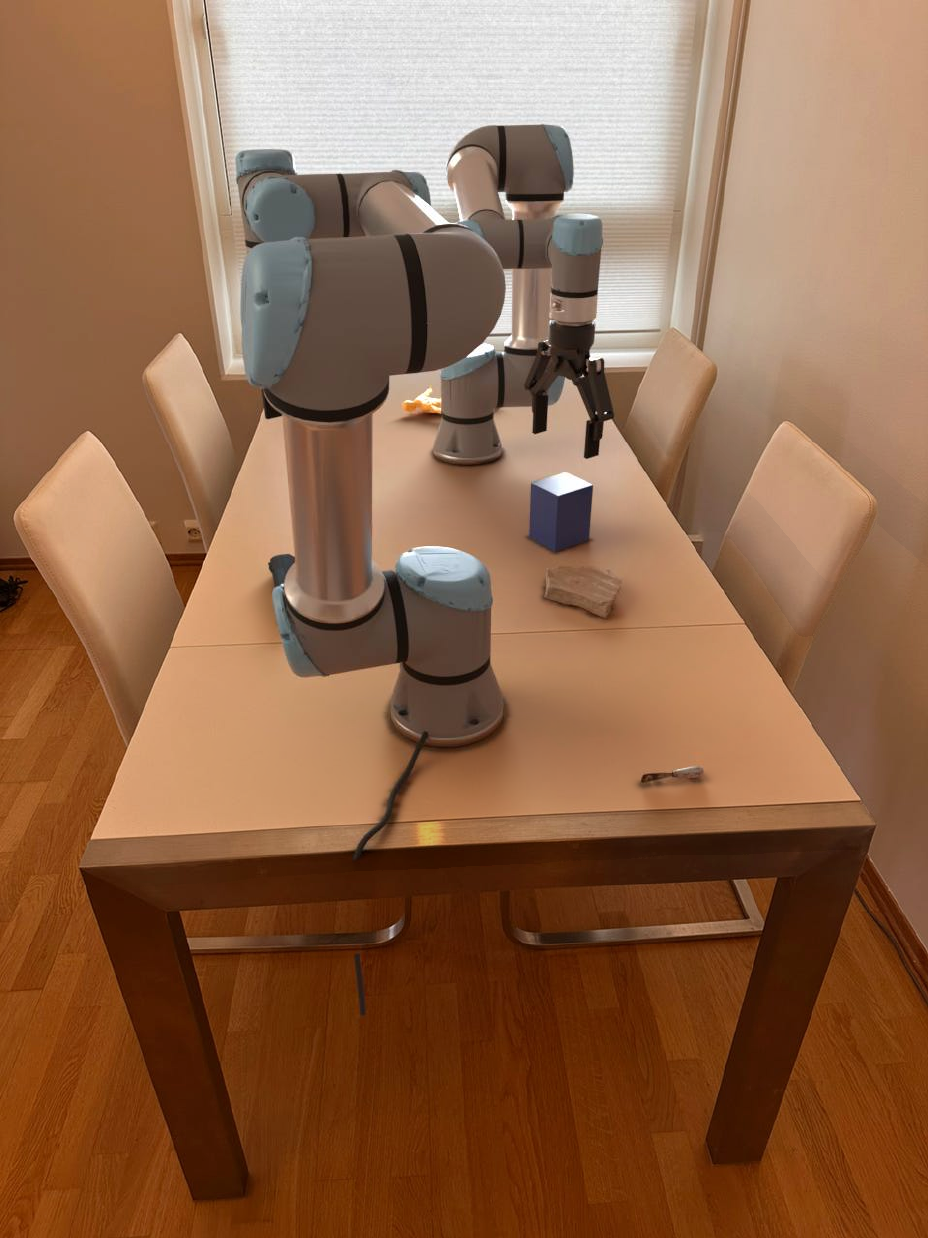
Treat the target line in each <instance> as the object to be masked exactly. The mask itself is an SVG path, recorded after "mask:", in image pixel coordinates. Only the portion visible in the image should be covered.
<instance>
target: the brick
mask: <svg viewBox="0 0 928 1238" xmlns="http://www.w3.org/2000/svg"><path fill="white" fill-rule="evenodd" d="M593 493H594V484H593V483H591V482H588V481H586V480H584V479H582V478H580V477H577V476H575V475H573V474H571V473H569V472H567V471H563V472H561V473H560V472H559V473H558V474H554V475H551V476H548V477H547V476H546V477H545V478H541V479H538V480H535V481H532V482H530V494H529V495H530V497H529V518H528V519H529V520H528V523H529V524H528V538H529V539H531V540H533V541H534V542H536V543H538V544H540V545H542V546H544V547H545V548H547V549H549V550H550V551H551V552H554V553H556V552H559V551H562V550H565V549H567V548H571V547H573V546H576V545H579V544H582V543H584V542H586V541H589V540H590V533H591V522H592V521H591V519H592V507H593V497H594V496H593V495H594V494H593Z"/></svg>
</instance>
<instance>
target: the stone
mask: <svg viewBox="0 0 928 1238" xmlns="http://www.w3.org/2000/svg"><path fill="white" fill-rule="evenodd" d="M621 584H622V578H620V577H619V576H617V575H615V574H614V573H612V570H611V569H601V568H598V567H595V566H581V567H573V566H563V565H562V566H561V565H560V566H558V567H547V569H546V574H545V593H544V598H545V599H547V600H550V601H555V602H558V603H562V604H563V605H572V606H576V607H579V608H581V609H584V610H586V611H588V612H589V613H592V614H593V615H596V616H598V617H601V618H603V619H607V618H608V615H609V614H610V612H611V609H612V604H614V603H615V600H616V599H617V596H618V594H619V592H620V590H621Z"/></svg>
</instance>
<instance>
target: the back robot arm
mask: <svg viewBox="0 0 928 1238" xmlns="http://www.w3.org/2000/svg"><path fill="white" fill-rule="evenodd" d="M568 133H569V132H568V131H567V129H566V128H564V127H563V126H561V125H556V124H545V123H541V124H505V125H504V124H503V125H497V124H489V125H483V126H481V127H478V128H475V129H473V130H472V131H470V132H468V133H467V134H466V135H464V136H462V137H461V138H460V139H459V140H458V141H457V142H456V144H455V145H454V146H453V148H452V149H451V151H450V152H449V154H448V157H447V160H446V165H445V175H446V182H447V184H448V187H449V190H450V191H451V192H452V193H453V194H454V195H455V200H456V204H457V205H456V206H457V209H458V214H459V220H458V221H456V222H455V224H459V225H463V226H466V227H468V228H470V229H472V230H473V231H475V232H476V233H477V234H479V235H480V236H481V237H482V238H483V239H485V240H486V241H487V242H488V244H489V245H490V246H491V247H492V248H493V249H494V251H495V252H496V254H497V256H498V258H499V260H500V262H501V264H502V268H503V270H512V271H511V276H512V277H511V333H510V336H509V337H508V338H507V339H506V340H505V341H504V344H503V351H496V349H495V347H494V346H493V345H491V344H488V343H482V344H481V345H480V346H479V347H478V348H477V349H476V350H474V351H473V352H472V353H471V354H470V355H468V356H467V357H466V358H464V359H462V360H460V361H459V362H457V363H455V364H453V365H451V366H449V367H446V368H442V369H440V372H439V379H440V399H441V414H440V416H441V417H440V422H439V426H438V429H437V431H436V436H435V439H434V442H433V455H434V456H435V458H436V459H438V460H440V461H442V462H445V463H448V464H453V465H459V466H461V465H462V466H473V465H481V464H487V463H490V462H493V461H495V460H497V459H498V458H499V457H500V456H501V455H502V441H501V438H500V435H499V432H498V428H497V426H496V422H495V409H496V408H497V409H499V408H530V407H531V412H532V429H531V431H532V432H531V434H533V435H538V434H541V433H545V432H547V431H548V410H549V406H553V405H555V404H557V402H558V401H559V400H560V398H561V397H562V394H563V389H564V387H565V380H566V379H567V380H569V381H571V382H572V384H573V385H574V386H575V387H576V389H577V391H578V393H579V395H580V398H581V401H582V402H583V403H582V404H583V405H584V408H585V410H586V412H587V415H588V417H589V419H588V420H586V421H585V423H586V424H585V435H584V436H585V437H584V449H583V458H584V459H586V460H588V459H591V458H595V457H598V456H600V455H599V454H600V445H601V444H600V443H601V440H602V438H603V437H604V436H603V435H604V434H603V433H604V424H605V422H607V421H610V420H613V419H614V418H615V411H614V408H613V404H612V399H611V396H610V395H611V394H610V391H609V387H608V383H607V382H608V381H607V379H606V374H605V373H606V372H605V359H604V357H598V358H592V357H591V352H590V351H591V349H592V347H593V345H594V344H595V338H596V337H595V336H596V322H595V319H597V313H598V312H597V311H598V298H599V297H598V296H599V294H598V293H599V283H600V271H601V259H602V258H601V257H602V247H603V245H604V237H603V221H602V219H601V218H600V217H599V216H597V215H592V214H589V213H566V214H557V210H558V209H559V208H560V207H561V206H562V205H563V203H564V202H565V193H568V192H571V190H572V189H573V186H574V177H575V175H574V174H575V173H574V171H575V168H574V157H573V149H572V143H571V140H570V136H569V134H568ZM500 193H505V204H506V205H507V207H509V208H510V209H511V211H512V219H506V216H505V212H504V209H503V205H502V201H501V198H500Z"/></svg>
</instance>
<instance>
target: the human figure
mask: <svg viewBox="0 0 928 1238" xmlns="http://www.w3.org/2000/svg"><path fill="white" fill-rule="evenodd" d="M424 391H425V392H423V393H422V394H420V395H418V396H416V398H415V399H414V400H404V401H403V402H402V411H404V412H405V413H410V414H412V413H414V412H417V408H418V409H420V410H421V411H423V412H424V413H427V414H439V415H441V398H434V397H429V396H430V395H432V394H433V392H434V391H433V389H432V385H429V387H428V389H424Z"/></svg>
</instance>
